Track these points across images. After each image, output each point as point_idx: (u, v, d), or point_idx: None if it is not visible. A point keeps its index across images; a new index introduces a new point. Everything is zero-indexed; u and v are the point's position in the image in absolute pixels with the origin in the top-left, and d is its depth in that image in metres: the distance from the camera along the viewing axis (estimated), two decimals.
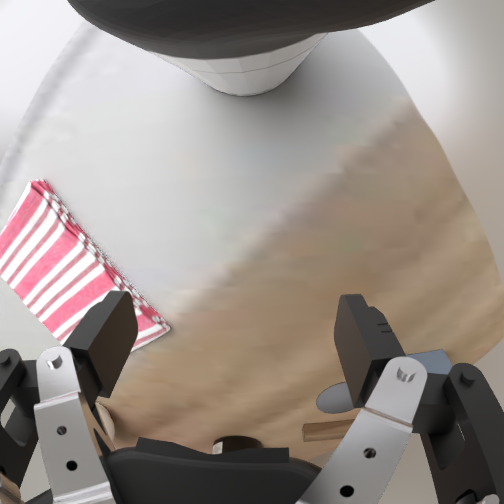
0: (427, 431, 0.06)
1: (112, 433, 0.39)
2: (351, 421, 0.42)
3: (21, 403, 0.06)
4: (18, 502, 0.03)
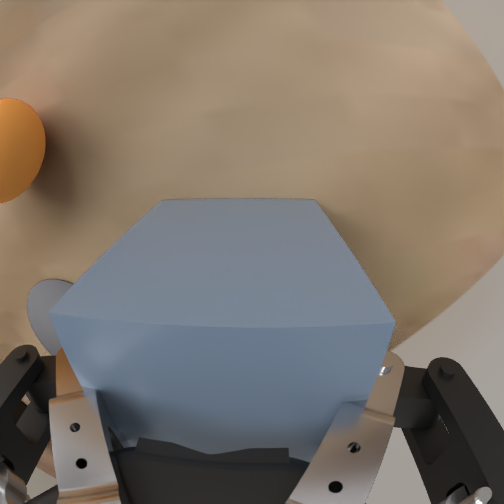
0: (408, 425, 0.07)
1: None
2: None
3: (38, 400, 0.06)
4: (23, 498, 0.03)
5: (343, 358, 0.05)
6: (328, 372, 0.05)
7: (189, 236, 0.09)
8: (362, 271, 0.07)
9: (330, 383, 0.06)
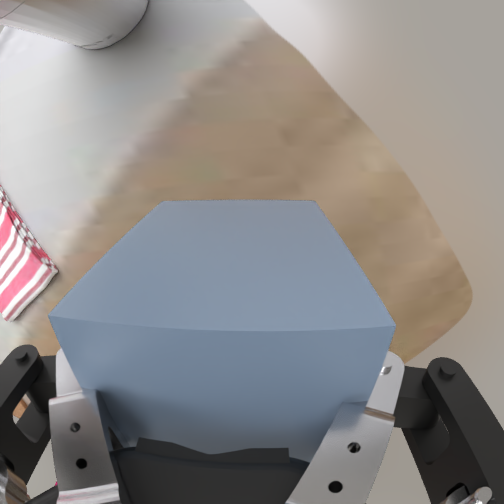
0: (407, 425, 0.07)
1: None
2: None
3: (38, 400, 0.06)
4: (23, 498, 0.03)
5: (343, 361, 0.05)
6: (328, 375, 0.05)
7: (189, 238, 0.09)
8: (362, 273, 0.07)
9: (329, 385, 0.06)
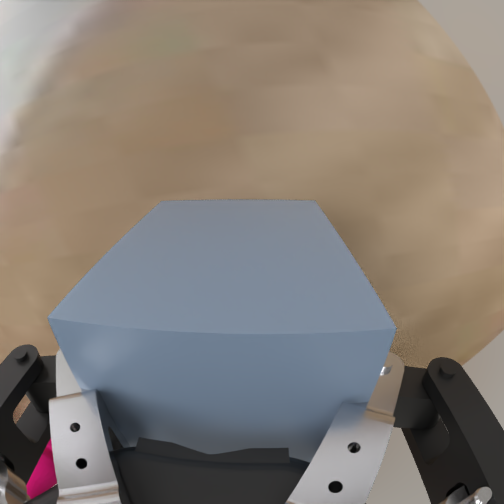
0: (407, 425, 0.07)
1: None
2: None
3: (38, 400, 0.06)
4: (23, 498, 0.03)
5: (343, 363, 0.05)
6: (328, 377, 0.05)
7: (189, 239, 0.09)
8: (363, 275, 0.07)
9: (330, 387, 0.05)
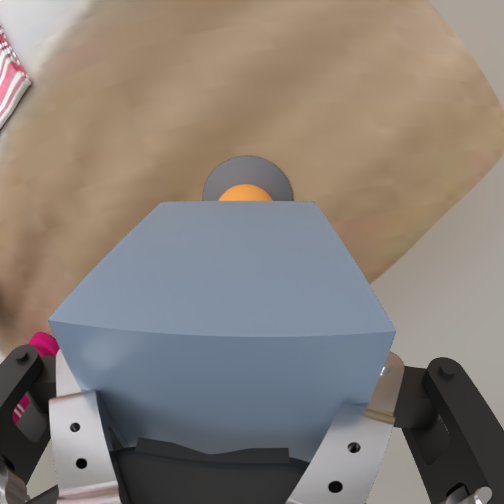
0: (407, 425, 0.07)
1: None
2: None
3: (38, 399, 0.06)
4: (23, 498, 0.03)
5: (343, 366, 0.05)
6: (328, 379, 0.05)
7: (189, 241, 0.09)
8: (363, 277, 0.07)
9: (329, 389, 0.06)
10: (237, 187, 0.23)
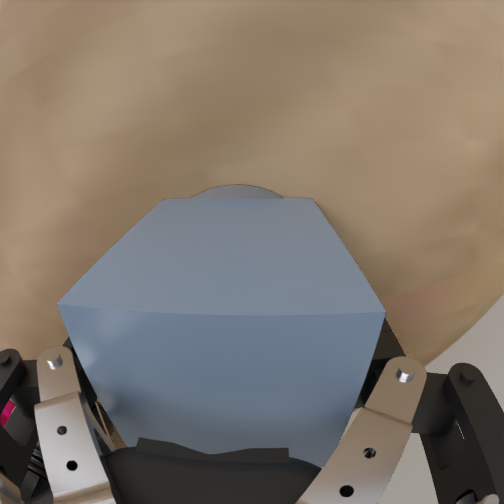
0: (427, 430, 0.06)
1: None
2: None
3: (21, 403, 0.06)
4: (18, 502, 0.03)
5: (336, 346, 0.06)
6: (322, 359, 0.06)
7: (191, 233, 0.09)
8: (355, 265, 0.07)
9: (324, 369, 0.06)
10: None
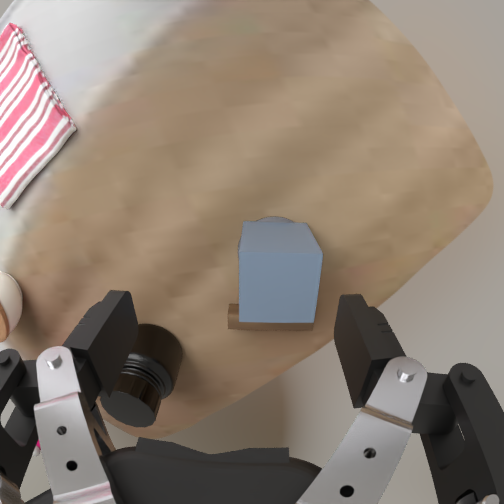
0: (427, 431, 0.06)
1: (14, 307, 0.33)
2: None
3: (21, 403, 0.06)
4: (18, 502, 0.03)
5: (311, 262, 0.24)
6: (308, 266, 0.25)
7: (266, 235, 0.28)
8: (317, 245, 0.26)
9: (308, 270, 0.25)
10: None
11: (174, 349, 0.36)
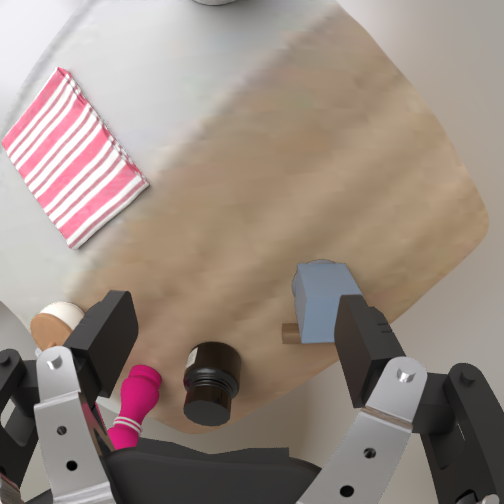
0: (427, 431, 0.06)
1: None
2: None
3: (21, 403, 0.06)
4: (18, 502, 0.03)
5: None
6: None
7: (319, 279, 0.37)
8: None
9: None
10: None
11: (237, 361, 0.46)
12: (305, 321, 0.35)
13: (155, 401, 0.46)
